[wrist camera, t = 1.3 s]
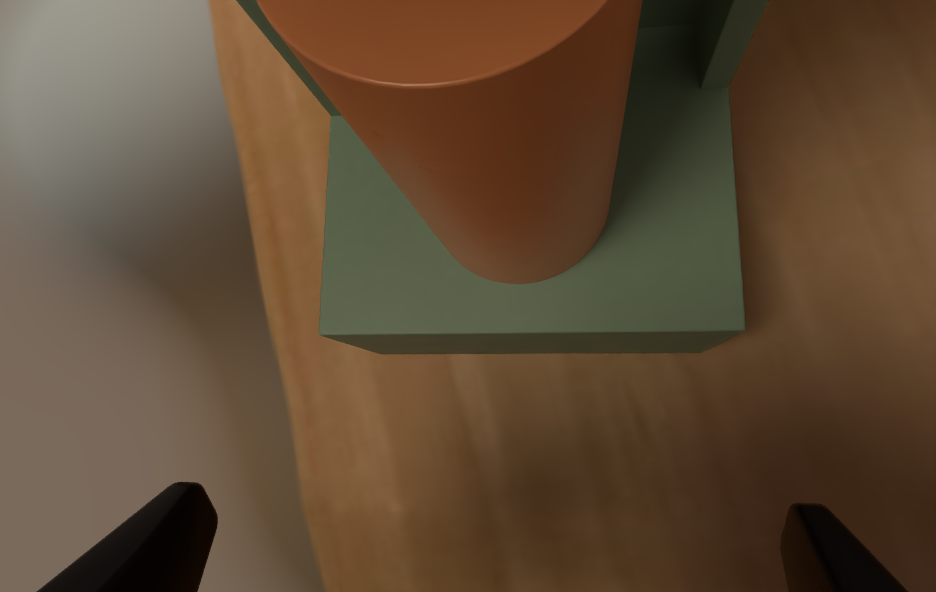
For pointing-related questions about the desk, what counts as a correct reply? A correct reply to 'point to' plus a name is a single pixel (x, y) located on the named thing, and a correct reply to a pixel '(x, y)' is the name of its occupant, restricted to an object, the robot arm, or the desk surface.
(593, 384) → the desk surface
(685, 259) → the green c-shaped stand
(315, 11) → the tea tin
